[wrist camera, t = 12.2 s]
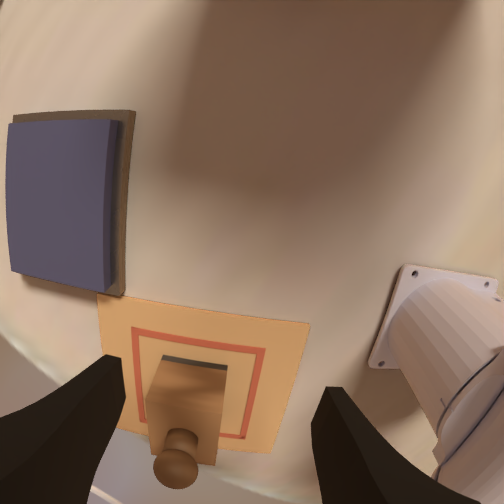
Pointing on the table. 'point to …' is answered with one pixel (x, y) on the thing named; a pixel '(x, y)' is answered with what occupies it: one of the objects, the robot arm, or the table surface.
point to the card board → (207, 350)
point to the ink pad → (69, 196)
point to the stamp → (184, 417)
